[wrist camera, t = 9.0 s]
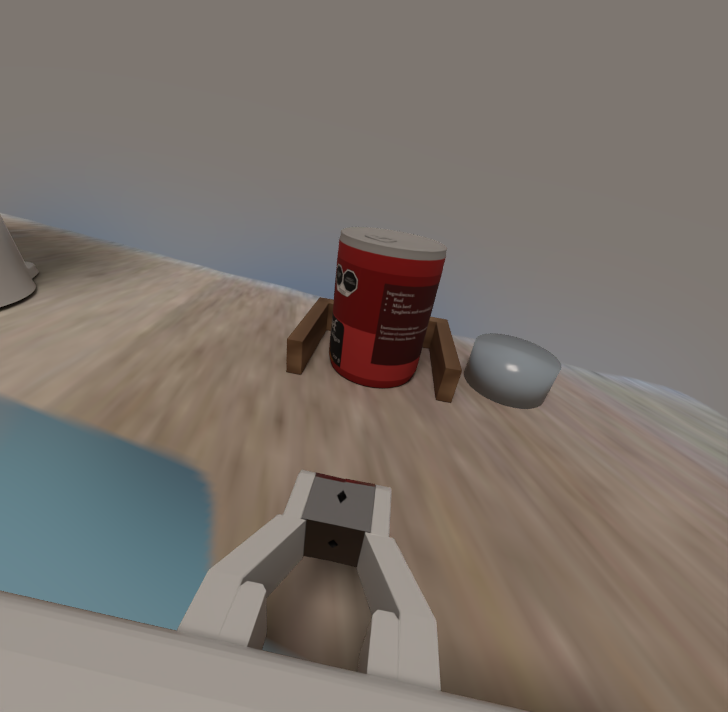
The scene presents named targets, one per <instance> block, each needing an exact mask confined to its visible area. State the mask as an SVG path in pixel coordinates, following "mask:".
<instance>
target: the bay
mask: <svg viewBox="0 0 728 712" xmlns="http://www.w3.org/2000/svg"><path fill="white" fill-rule="evenodd" d="M333 302H334V300H332V299H326V298H321V297H320V298H319V299H318V301H317V302H316V303H315V304H314V306H313V307H312V308H311V309H310V311H309V312H308V313H307V314H306V316H305V317H304V318H303V319H302V321H301V322H300V323H299V325H298V326H297V327H296V328H295V330H294V331H293V332H292V333H291V335H290V336H289V337H288V338H287V370H286V372H290V373H295V374H302V372H303V370H304V368H305V366H306V365H307V363H308V361H309V359H310V358H311V356H312V354H313V352H314V351H315V349H316V347H317V345H318V344H319V342H320V340H321V338H322V337H323V335H324V333H325V331H326V330H330V331H331V325H332V314H333ZM422 347H425V348H429V349H430V357H431V365H432V373H433V381H434V388H435V396H436V400H440V401H445V402H451V401H452V398H453V395H454V392H455V389H456V387H457V384H458V381H459V378H460V375H461V372H462V369H461V366H460V362H459V359H458V355H457V352H456V348H455V345H454V342H453V338H452V335H451V331H450V328H449V324H448V321H447V320H446V319H440V318H435V317H430V320H429V323H428V327H427V331H426V335H425V338H424V342H423V346H422Z"/></svg>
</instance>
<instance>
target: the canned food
mask: <svg viewBox="0 0 728 712" xmlns="http://www.w3.org/2000/svg"><path fill="white" fill-rule="evenodd" d="M446 250H447V248H446V246H445V245H443V244H442V243H440V242H437V241H435V240H432V239H429V238H426V237H422V236H418V235H414V234H409V233H404V232H399V231H392V230H386V229H379V228H368V227H349V228H345V229H342V230H341V236H340V240H339V250H338V258H337V269H336V280H335V291H334V292H335V293H334V302H333V314H332V325H331V336H330V347H329V355H330V359H331V363H332V365H333V367H334V369H335V370H336V371H337V372H338V373H339V374H340V375H342V376H343V377H345V378H346V379H348V380H350V381H352V382H355V383H357V384H361V385H364V386H369V387H376V388H390V387H395V386H399V385H402V384H404V383H406V382H407V381H409V379H410V378H411V377H412V375H413V374H414V372H415V371H416V368H417V365H418V361H419V357H420V354H421V350H422V346H423V342H424V338H425V335H426V331H427V327H428V323H429V320H430V316H431V312H432V308H433V304H434V301H435V297H436V293H437V289H438V286H439V282H440V278H441V274H442V270H443V265H444V262H445V258H446Z"/></svg>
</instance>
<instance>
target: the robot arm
mask: <svg viewBox="0 0 728 712" xmlns="http://www.w3.org/2000/svg"><path fill="white" fill-rule="evenodd" d="M37 274H38V270H37V268H36V266H35V264H34V263H32V262H25V261H24V260H23V258H22V256H21V254H20V252H19V250H18V248H17V246H16V244H15V242H14V240H13V238H12V236H11V234H10V232H9V230H8V229H7V227H6V225H5V223H4V221H3V219H2V217H1V215H0V307H3V306H6V305H8V304H11V303H14V302H16V301H19V300H21V299H23V298H25V297H27V296H28V295H30V294H31V293H32V292H33V291H34V290H35V288H36V285H35V283H34V282H33V280H32V278H33V277H35V276H36V275H37ZM391 492H392V491H391V488H390V487H385V486H380V485H375V484H371V483H366V482H361V481H355V480H350V479H342V478H338V477H333V476H329V475H325V474H320V473H316V472H311V471H306V470H301V471H300V473H299V475H298V477H297V480H296V482H295V485H294V488H293V490H292V493H291V495H290V498H289V501H288V503H287V506H286V508H285V511H284V514H283V515H281V514H278V515H277V516H275V517H274V518H273V519H272V520H270V521H269V522H268V523H267V524H265V525H264V526H263V527H262V528H260V529H259V530H258V531H257V532H256V533H254V534H253V535H252V536H251V537H249V538H248V539H247V540H246V541H244V542H243V543H242V544H241V545H239V546H238V547H237V548H236V549H234V550H233V551H232V552H231V553H229V554H228V555H227V556H226V557H224V558H223V559H222V560H221V561H219V562H218V563H217V564H216V565H215V566H213V567H212V568H211V569H210V570H208V572H207V574H206V576H205V578H204V580H203V582H202V584H201V586H200V588H199V589H198V591H197V593H196V595H195V597H194V599H193V601H192V603H191V605H190V606H189V608H188V610H187V612H186V614H185V616H184V618H183V620H182V622H181V623H180V626H179V627H178V629H177V631H175V630H171V629H166V628H162V627H158V626H153V625H149V624H145V623H140V622H136V621H132V620H127V619H123V618H118V617H114V616H110V615H105V614H101V613H96V612H92V611H87V610H83V609H79V608H74V607H70V606H66V605H61V604H57V603H52V602H48V601H44V600H39V599H35V598H31V597H26V596H22V595H17V594H13V593H8V592H4V591H0V712H531V711H526V710H522V709H518V708H513V707H509V706H504V705H500V704H496V703H491V702H487V701H483V700H478V699H474V698H469V697H465V696H461V695H456V694H452V693H447V692H443V691H441V686H440V670H439V655H438V639H437V623H436V619H435V617H434V615H433V613H432V612H431V610H430V608H429V606H428V604H427V602H426V600H425V598H424V596H423V594H422V592H421V590H420V588H419V586H418V584H417V582H416V580H415V578H414V577H413V575H412V573H411V571H410V569H409V567H408V565H407V563H406V561H405V559H404V557H403V555H402V553H401V551H400V549H399V547H398V545H397V544H396V542H395V540H394V538H391V537H389V529H390V511H391ZM303 556H307V557H313V558H318V559H323V560H329V561H333V562H337V563H341V564H346V565H350V566H354V567H357V571H358V574H359V577H360V580H361V583H362V586H363V589H364V593H365V596H366V599H367V602H368V605H369V608H370V611H371V614H372V618H371V621H370V624H369V627H368V630H367V633H366V636H365V639H364V642H363V645H362V648H361V651H360V654H359V663H358V671H357V672H355V671H351V670H347V669H342V668H338V667H333V666H329V665H325V664H320V663H316V662H312V661H307V660H303V659H298V658H294V657H290V656H285V655H281V654H276V653H272V652H268V651H263V650H262V648H263V645H264V641H265V638H266V635H267V608H266V598H267V597H268V596H269V595H270V594H271V593H272V592H273V591H274V589H275V588H276V587H277V586H278V585H279V584H280V583H281V582H282V581H283V579H284V578H285V577H286V576H287V575H288V574H289V573H290V572H291V571H292V569H293V568H294V567H295V566H296V565H297V564H298V563H299V562H300V560H301V559H302V558H303Z"/></svg>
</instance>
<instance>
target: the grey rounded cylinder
mask: <svg viewBox="0 0 728 712" xmlns="http://www.w3.org/2000/svg"><path fill="white" fill-rule="evenodd" d="M560 370H561V363H560V361H559V360H558V359H557V358H556V357H555V356H554V355H553V354H551V353H550V352H549V351H547V350H546V349H544V348H542V347H540V346H538V345H536V344H534V343H531V342H529V341H526V340H523V339H520V338H517V337H513V336H509V335H503V334H483V335H480V336H478V337H477V338H476V340H475V343H474V346H473V349H472V352H471V354H470V357H469V360H468V363H467V366H466V369H465V372H464V377H465V379H466V381H467V383H468V384H469V385H470V386H471V387H472V388H473V389H474V390H475V391H477V392H478V393H479V394H481V395H482V396H484V397H486V398H488V399H490V400H492V401H494V402H496V403H499V404H502V405H505V406H509V407H513V408H519V409H531V408H536V407H538V406H540V405H541V404H542V403H543V402H544V400H545V398H546V396H547V394H548V392H549V391H550V389H551V387H552V385H553V383H554V381H555V379H556V377H557V375H558V374H559V372H560Z"/></svg>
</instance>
